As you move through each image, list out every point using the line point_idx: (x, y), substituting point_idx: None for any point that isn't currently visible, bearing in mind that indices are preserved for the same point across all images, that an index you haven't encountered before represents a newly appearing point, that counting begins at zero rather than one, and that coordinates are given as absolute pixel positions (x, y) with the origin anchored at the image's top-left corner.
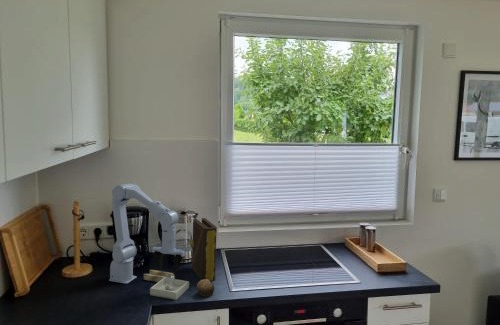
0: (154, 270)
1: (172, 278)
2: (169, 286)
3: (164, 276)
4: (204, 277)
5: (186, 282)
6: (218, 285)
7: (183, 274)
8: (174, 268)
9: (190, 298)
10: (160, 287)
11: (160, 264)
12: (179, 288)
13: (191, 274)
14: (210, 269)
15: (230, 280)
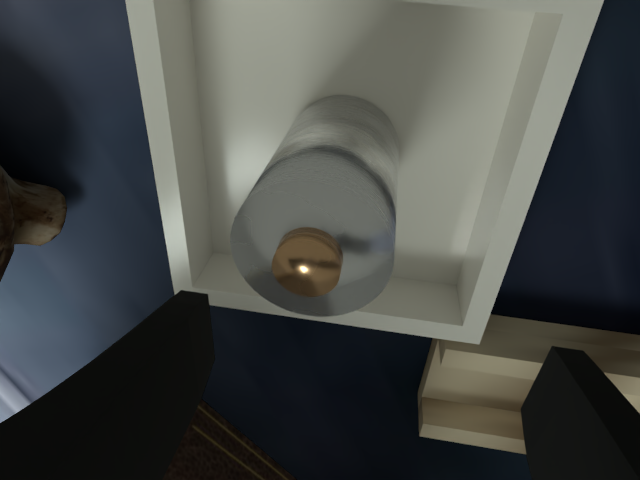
0: None
1: (249, 194)
2: (311, 121)
3: (504, 401)
4: None
5: (183, 274)
6: (25, 332)
7: (362, 449)
8: (158, 340)
9: (50, 40)
10: (478, 194)
11: (575, 470)
12: (163, 106)
13: (304, 452)
14: None
15: (13, 401)
